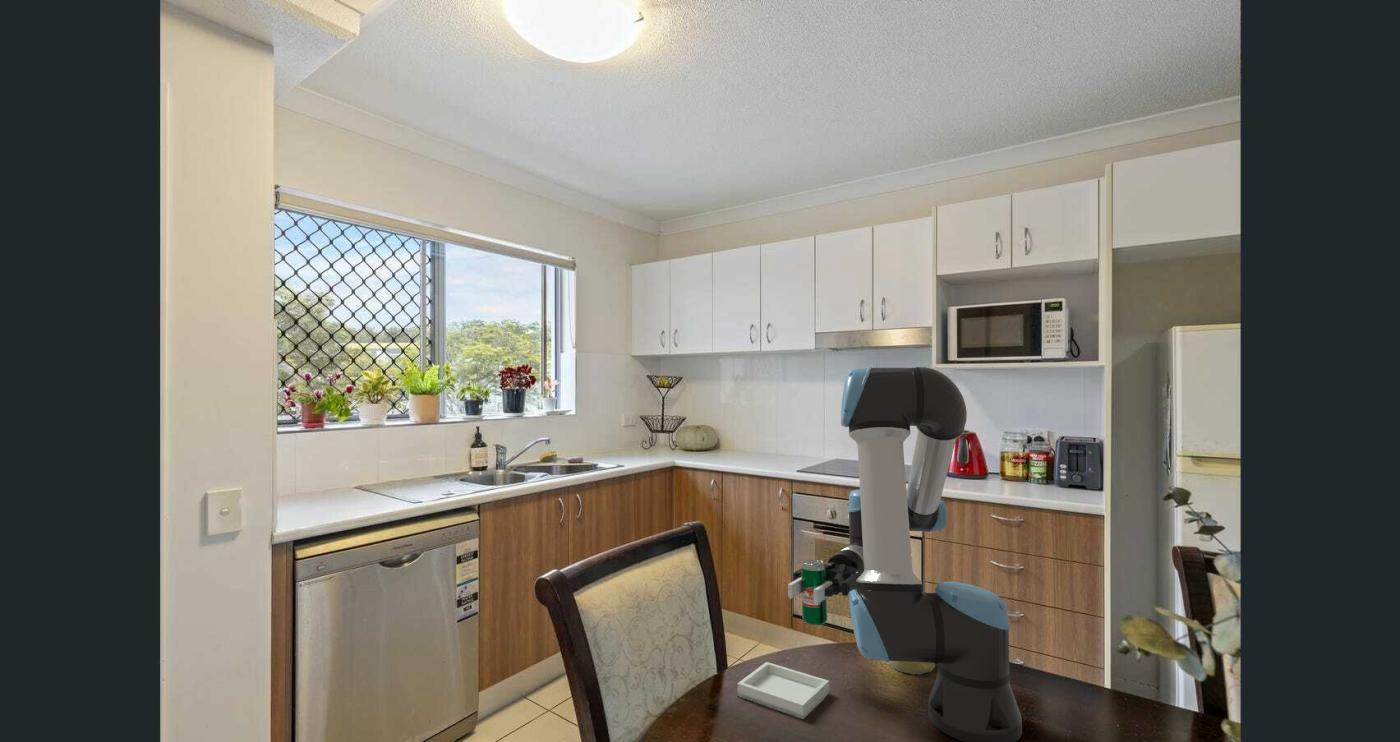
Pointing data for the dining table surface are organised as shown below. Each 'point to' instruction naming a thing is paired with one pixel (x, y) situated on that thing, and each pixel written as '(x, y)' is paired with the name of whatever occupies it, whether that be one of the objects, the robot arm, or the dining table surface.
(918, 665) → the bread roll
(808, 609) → the soda can
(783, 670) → the tray
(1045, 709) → the dining table surface
